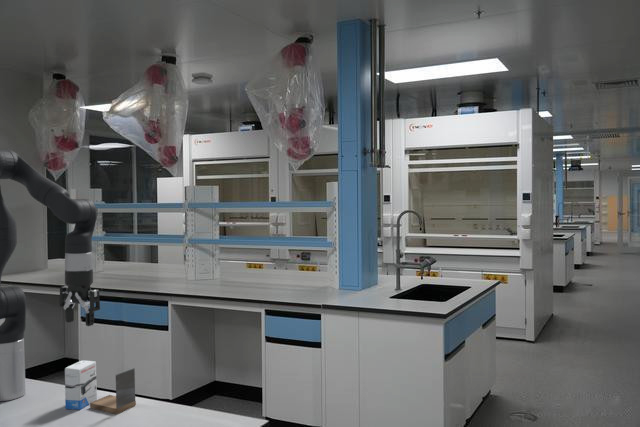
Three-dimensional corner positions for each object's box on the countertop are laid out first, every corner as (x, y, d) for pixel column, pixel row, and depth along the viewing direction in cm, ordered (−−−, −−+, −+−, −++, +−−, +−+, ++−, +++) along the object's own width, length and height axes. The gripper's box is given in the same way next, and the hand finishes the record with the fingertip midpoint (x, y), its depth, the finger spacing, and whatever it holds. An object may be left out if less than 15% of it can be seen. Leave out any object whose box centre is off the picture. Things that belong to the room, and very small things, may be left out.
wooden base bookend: (90, 408, 159) (89, 370, 159) (109, 399, 166) (108, 363, 165) (117, 414, 154) (116, 375, 154) (135, 405, 161) (135, 367, 160)
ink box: (80, 410, 158) (79, 369, 157) (64, 409, 159) (63, 368, 158) (97, 399, 166) (96, 360, 166) (83, 398, 167) (82, 359, 167)
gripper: (51, 267, 161) (51, 323, 161) (84, 271, 154) (85, 329, 155) (73, 264, 167) (74, 318, 168) (106, 268, 161) (107, 323, 161)
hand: (79, 323), depth 161 cm, fingers open, 8 cm apart
